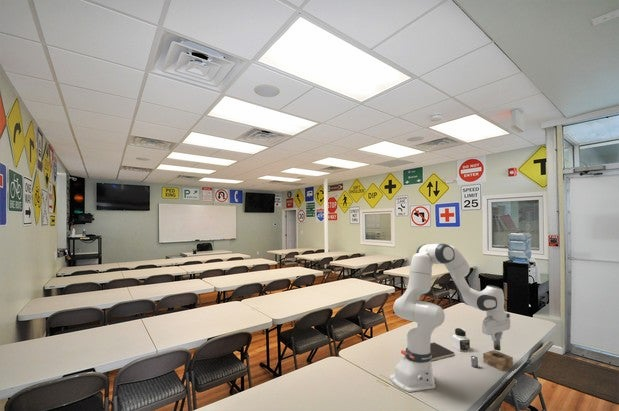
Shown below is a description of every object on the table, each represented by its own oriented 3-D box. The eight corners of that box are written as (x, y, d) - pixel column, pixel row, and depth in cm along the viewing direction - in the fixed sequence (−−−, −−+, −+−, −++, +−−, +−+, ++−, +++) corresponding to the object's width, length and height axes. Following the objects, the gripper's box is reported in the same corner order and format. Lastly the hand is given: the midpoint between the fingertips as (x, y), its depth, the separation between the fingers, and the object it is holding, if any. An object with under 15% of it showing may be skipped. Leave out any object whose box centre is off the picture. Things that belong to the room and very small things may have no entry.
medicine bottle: (460, 351, 169) (459, 331, 170) (452, 346, 176) (451, 327, 177) (470, 350, 170) (469, 330, 171) (461, 345, 177) (461, 326, 178)
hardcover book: (454, 356, 164) (454, 352, 164) (425, 363, 155) (425, 359, 156) (433, 345, 179) (433, 341, 179) (405, 351, 170) (405, 347, 170)
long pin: (498, 350, 152) (497, 332, 153) (492, 348, 155) (491, 330, 156) (501, 349, 154) (501, 331, 154) (496, 347, 156) (495, 329, 157)
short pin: (475, 368, 149) (475, 359, 150) (470, 365, 152) (469, 356, 152) (479, 367, 150) (479, 357, 151) (473, 364, 153) (473, 355, 154)
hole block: (501, 370, 147) (501, 361, 147) (483, 362, 156) (483, 353, 156) (513, 366, 151) (512, 357, 151) (494, 358, 160) (494, 349, 160)
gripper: (489, 319, 148) (490, 345, 147) (512, 313, 157) (513, 338, 156) (478, 315, 154) (479, 341, 153) (500, 310, 162) (501, 334, 162)
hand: (496, 339), depth 155 cm, fingers closed on long pin, 3 cm apart
